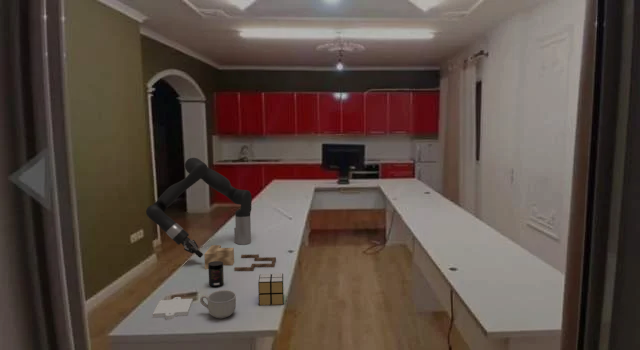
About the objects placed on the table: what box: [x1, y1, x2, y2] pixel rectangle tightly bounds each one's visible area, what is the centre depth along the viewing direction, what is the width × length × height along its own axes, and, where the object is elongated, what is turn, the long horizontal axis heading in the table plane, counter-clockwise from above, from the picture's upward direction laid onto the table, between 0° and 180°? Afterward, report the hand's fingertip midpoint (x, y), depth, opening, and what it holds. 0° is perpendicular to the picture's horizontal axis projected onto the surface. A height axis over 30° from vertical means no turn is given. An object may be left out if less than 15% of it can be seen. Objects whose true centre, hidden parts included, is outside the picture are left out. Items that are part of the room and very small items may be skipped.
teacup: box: [199, 289, 237, 319], centre depth 168 cm, size 14×11×8 cm
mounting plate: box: [152, 296, 194, 320], centre depth 173 cm, size 18×13×2 cm
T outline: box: [233, 254, 277, 272], centre depth 230 cm, size 20×23×2 cm
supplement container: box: [207, 261, 225, 288], centre depth 198 cm, size 7×7×10 cm
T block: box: [203, 244, 235, 270], centre depth 229 cm, size 13×16×8 cm
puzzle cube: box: [257, 272, 285, 306], centre depth 181 cm, size 10×10×10 cm
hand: (201, 256), depth 229 cm, fingers closed
